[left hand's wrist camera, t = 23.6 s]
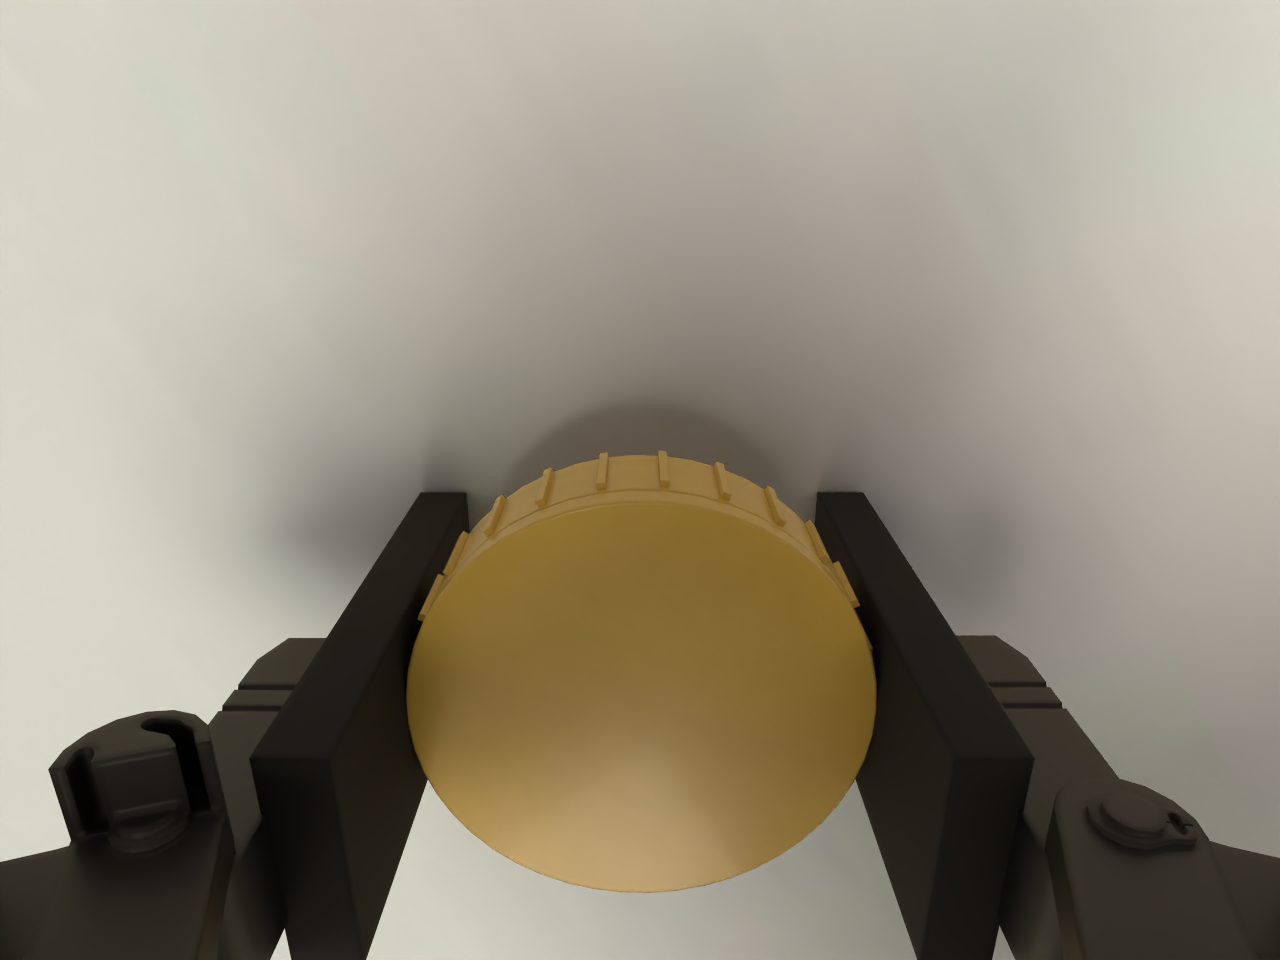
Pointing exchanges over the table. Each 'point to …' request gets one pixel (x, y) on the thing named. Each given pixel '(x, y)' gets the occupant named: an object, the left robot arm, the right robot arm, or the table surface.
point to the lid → (641, 676)
